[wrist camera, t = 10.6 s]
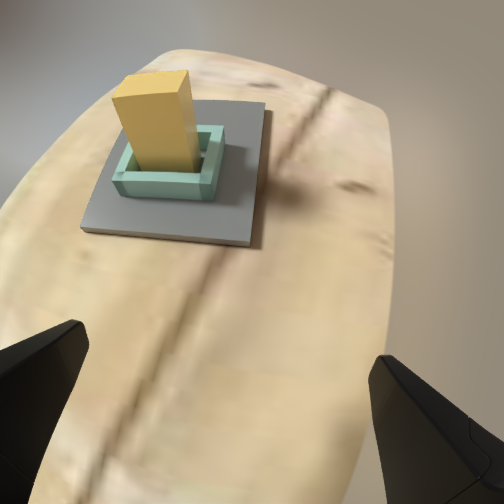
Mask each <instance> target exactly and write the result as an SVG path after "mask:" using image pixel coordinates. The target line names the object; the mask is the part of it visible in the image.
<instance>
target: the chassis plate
mask: <svg viewBox="0 0 504 504" xmlns="http://www.w3.org/2000/svg"><path fill="white" fill-rule="evenodd" d="M192 101H193V107H194V113H195V120H196V126H197V132H198V138H199V144H200V150H201V156H202V157H201V161H200V166H199V170H198V173H178V172H142V171H141V169H140V167H139V164H138V162H137V160H136V157H135V155H134V153H133V150H132V148H131V146H130V143H129V141H128V138H127V136H126V134H125V131H124V129H122V131H121V133H120V135H119V137H118V138H117V140H116V142H115V144H114V146H113V148H112V150H111V152H110V155H109V157H108V159H107V161H106V163H105V165H104V167H103V170H102V172H101V174H100V176H99V179H98V181H97V183H96V186H95V188H94V190H93V193H92V195H91V198H90V200H89V203H88V205H87V208H86V211H85V213H84V216H83V219H82V221H81V224H80V228H81V229H82V230H83V231H84V232H94V233H106V234H117V235H128V236H139V237H150V238H161V239H172V240H182V241H193V242H204V243H214V244H225V245H235V246H246V247H250V240H251V231H252V222H253V212H254V203H255V194H256V185H257V176H258V166H259V157H260V148H261V139H262V130H263V121H264V112H265V103H261V102H247V101H228V100H192Z"/></svg>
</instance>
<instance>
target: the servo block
mask: <svg viewBox="0 0 504 504" xmlns="http://www.w3.org/2000/svg"><path fill="white" fill-rule="evenodd" d="M112 101H113V103H114V106H115V109H116V111H117V114H118V116H119V119H120V121H121V124H122V126H123V129H124V131H125V134H126V136H127V138H128V141H129V143H130V146H131V148H132V150H133V153H134V155H135V157H136V160H137V162H138V164H139V167H140V169H141V171H142V172H178V173H198V170H199V166H200V161H201V157H202V156H201V150H200V144H199V138H198V132H197V126H196V120H195V113H194V107H193V101H192V94H191V87H190V80H189V73H188V70H180V71H166V72H154V73H145V74H137V75H129V76H126V78H125V79H124V81H123V82H122V83H121V85H120V86H119V88H118V89H117V91H116V92H115V94H114V95H113V97H112Z"/></svg>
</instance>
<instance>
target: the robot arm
mask: <svg viewBox="0 0 504 504" xmlns="http://www.w3.org/2000/svg"><path fill="white" fill-rule="evenodd" d="M88 349H89V340H88V337H87V333H86V330H85V326H84V324H83V323H82V322H81V321H77V320H73V319H71V320H69V321H66V322H64V323H62V324H59V325H57V326H55V327H52V328H50V329H48V330H46V331H43V332H41V333H39V334H36V335H34V336H32V337H30V338H27V339H25V340H23V341H20V342H18V343H16V344H14V345H11V346H9V347H7V348H5V349H2V350H0V504H28V501H29V498H30V494H31V491H32V488H33V485H34V482H35V479H36V476H37V473H38V470H39V468H40V465H41V462H42V459H43V457H44V454H45V452H46V449H47V447H48V444H49V442H50V439H51V437H52V434H53V432H54V430H55V427H56V425H57V423H58V420H59V418H60V416H61V414H62V411H63V409H64V407H65V405H66V403H67V401H68V398H69V396H70V394H71V392H72V390H73V388H74V386H75V383H76V380H77V378H78V375H79V372H80V370H81V367H82V364H83V362H84V359H85V357H86V354H87V352H88ZM368 383H369V391H370V400H371V409H372V419H373V425H374V431H375V435H376V440H377V445H378V450H379V456H380V461H381V467H382V472H383V478H384V484H385V491H386V498H387V504H504V442H503V441H501V440H500V439H499V438H497V437H496V436H494V435H493V434H491V433H490V432H488V431H487V430H485V429H484V428H483V427H482V426H480V425H479V424H478V423H476V422H475V421H474V420H473V419H471V418H470V417H469V418H468V415H466V414H465V413H464V412H463V411H461V410H460V409H459V408H458V407H456V406H455V405H454V404H452V403H451V402H450V401H449V400H448V399H446V398H445V397H444V396H443V395H441V394H440V393H439V392H437V391H436V390H435V389H434V388H432V387H431V386H430V385H429V384H427V383H426V382H425V381H424V380H422V379H421V378H420V377H419V376H417V375H416V374H415V373H413V372H412V371H411V370H410V369H408V368H407V367H406V366H405V365H403V364H402V363H401V362H400V361H398V360H397V359H396V358H394V357H393V356H392V355H379V356H378V357H377V358H376V360H375V363H374V365H373V367H372V369H371V371H370V374H369V378H368Z"/></svg>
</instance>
